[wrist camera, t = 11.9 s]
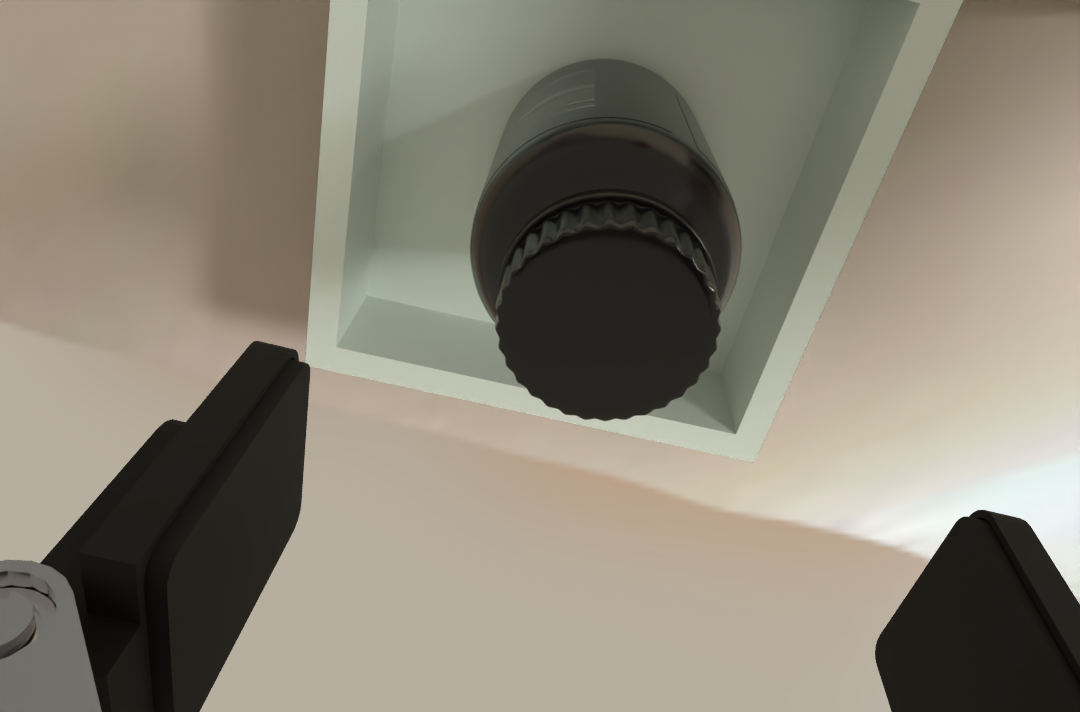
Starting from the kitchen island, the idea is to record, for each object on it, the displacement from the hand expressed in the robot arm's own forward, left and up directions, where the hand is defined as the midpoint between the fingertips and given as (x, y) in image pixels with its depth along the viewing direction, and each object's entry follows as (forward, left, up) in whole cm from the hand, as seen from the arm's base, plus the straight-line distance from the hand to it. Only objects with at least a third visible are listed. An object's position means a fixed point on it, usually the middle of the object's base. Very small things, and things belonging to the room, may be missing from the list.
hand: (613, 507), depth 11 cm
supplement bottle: (0, 0, -18) cm, 18 cm away
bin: (+1, 0, -19) cm, 19 cm away
